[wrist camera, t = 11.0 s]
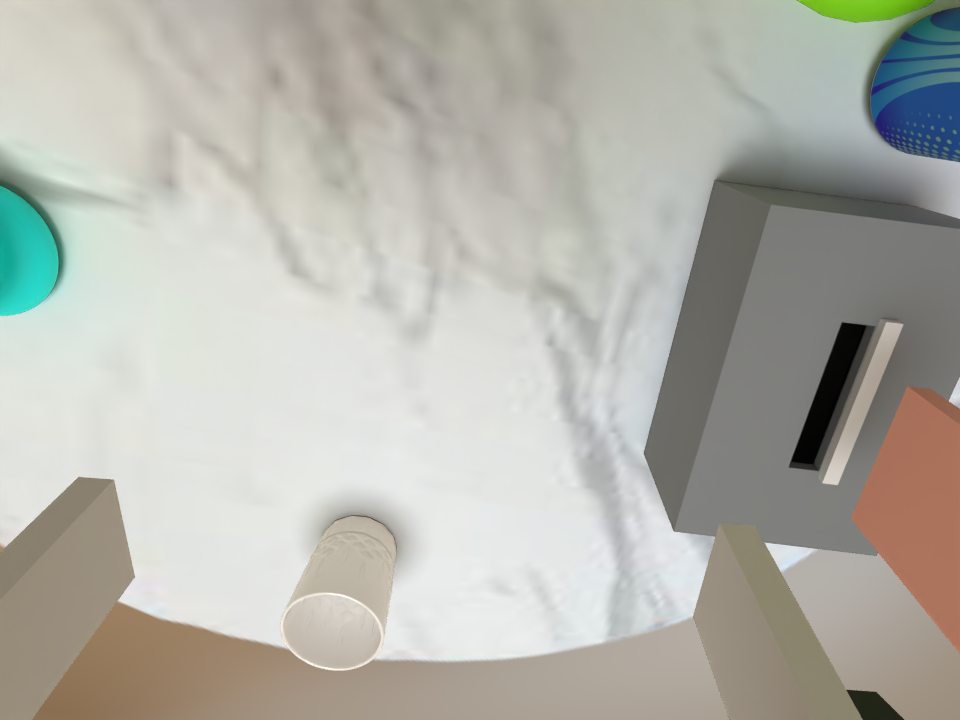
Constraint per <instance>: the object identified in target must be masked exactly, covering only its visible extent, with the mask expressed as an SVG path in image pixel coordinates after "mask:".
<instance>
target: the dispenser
mask: <svg viewBox="0 0 960 720" xmlns="http://www.w3.org/2000/svg"><path fill="white" fill-rule="evenodd" d="M959 377H960V219H958V218H954V217H951V216H947V215H944V214H940V213H937V212H933V211H930V210H926V209H922V208H919V207H915V206H908V205H901V204H893V203H885V202H877V201H869V200H862V199H854V198H846V197H838V196H831V195H823V194H815V193H807V192H799V191H792V190H784V189H776V188H768V187H760V186H753V185H745V184H737V183H729V182H722V181H714V185H713V188H712V192H711V196H710V200H709V204H708V208H707V212H706V216H705V219H704V223H703V227H702V231H701V235H700V239H699V243H698V246H697V250H696V254H695V258H694V262H693V266H692V270H691V273H690V277H689V281H688V285H687V289H686V293H685V297H684V301H683V304H682V308H681V312H680V316H679V320H678V324H677V328H676V331H675V335H674V339H673V343H672V347H671V351H670V355H669V359H668V362H667V366H666V370H665V374H664V378H663V382H662V386H661V389H660V393H659V397H658V401H657V405H656V409H655V413H654V416H653V420H652V424H651V428H650V432H649V436H648V440H647V444H646V447H645V451H644V455H645V458H646V460H647V463H648V466H649V468H650V471H651V473H652V476H653V479H654V481H655V484H656V486H657V489H658V492H659V494H660V497H661V499H662V502H663V505H664V507H665V510H666V512H667V515H668V518H669V520H670V523H671V525H672V528H673V531H674V532H682V533H691V534H699V535H707V536H716V533H717V530H718V526H719V523H726V524H740V525H754V526H755V527H756V529H757V531H758V532H759V534H760V536H761V538H762V540H763V541H764V542H765V543H774V544H782V545H790V546H799V547H807V548H815V549H824V550H832V551H840V552H849V553H857V554H865V555H873V556H877V554H878V552H877V550H876V549H875V548H874V547H873V545H872V544H871V543H870V542H869V540H868V539H867V538H866V537H865V535H864V534H863V533H862V532H861V531H860V529H859V528H858V527H857V526H856V524H855V523H854V522H853V521H852V519H851V516H852V514H853V512H854V509H855V507H856V505H857V502H858V500H859V498H860V495H861V493H862V491H863V488H864V486H865V484H866V481H867V479H868V477H869V474H870V472H871V470H872V467H873V465H874V463H875V461H876V458H877V456H878V454H879V451H880V449H881V447H882V444H883V442H884V440H885V437H886V435H887V433H888V430H889V428H890V426H891V423H892V421H893V419H894V416H895V414H896V412H897V409H898V407H899V405H900V402H901V400H902V398H903V395H904V393H905V391H906V389H907V386H909V387H917V388H925V389H932V390H933V391H934V392H936V393H937V394H939V395H940V396H942V397H943V398H944V399H946V400H947V401H949V399H950V396H951V394H952V392H953V390H954V388H955V386H956V384H957V381H958V379H959Z"/></svg>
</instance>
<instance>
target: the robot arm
mask: <svg viewBox="0 0 960 720" xmlns="http://www.w3.org/2000/svg"><path fill="white" fill-rule="evenodd" d="M134 577H135V575H134V570H133V566H132V561H131V557H130V552H129V547H128V543H127V538H126V534H125V529H124V524H123V520H122V515H121V510H120V506H119V501H118V497H117V492H116V487H115V483H114V480H111V479H97V478H83V477H78V478H77V479H76V480H75V481H74V482H73V483H72V484H71V485H70V486H69V487H68V488H67V489H66V490H65V491H64V492H63V493H62V494H61V495H60V496H58V497H57V498H56V499H55V500H54V501H53V502H52V503H51V504H50V505H49V506H48V507H47V508H46V509H45V510H44V511H43V512H42V513H41V514H40V515H39V516H38V517H37V518H36V519H35V520H34V521H33V522H31V523H30V524H29V525H28V526H27V527H26V528H25V529H24V530H23V531H22V532H21V533H20V534H19V535H18V536H17V537H16V538H15V539H14V540H13V541H12V542H11V543H10V544H9V545H8V546H7V547H6V548H5V549H3V551H1V552H0V720H32V718H33V717H34V715H35V714H36V713H37V711H38V710H39V709H40V707H41V706H42V705H43V703H44V702H45V700H46V699H47V698H48V696H49V695H50V694H51V692H52V691H53V689H54V688H55V687H56V685H57V684H58V682H59V681H60V680H61V678H62V677H63V676H64V674H65V673H66V671H67V670H68V669H69V667H70V666H71V664H72V663H73V662H74V660H75V659H76V658H77V656H78V655H79V653H80V652H81V651H82V649H83V648H84V646H85V645H86V644H87V642H88V641H89V640H90V638H91V637H92V635H93V634H94V633H95V631H96V630H97V628H98V627H99V626H100V624H101V623H102V622H103V620H104V619H105V617H106V616H107V615H108V613H109V612H110V610H111V609H112V608H113V606H114V605H115V604H116V602H117V601H118V599H119V598H120V597H121V595H122V594H123V593H124V591H125V590H126V588H127V587H128V586H129V584H130V583H131V581H132V580H133V579H134ZM693 618H694V621H695V624H696V627H697V629H698V632H699V635H700V638H701V641H702V644H703V646H704V649H705V652H706V655H707V658H708V660H709V664H710V666H711V669H712V672H713V675H714V678H715V680H716V684H717V686H718V689H719V692H720V695H721V698H722V701H723V704H724V706H725V709H726V712H727V715H728V718H729V720H904V719H903V718H902V717H901V716H900V715H899V714H898V713H897V712H896V711H895V710H894V709H893V708H892V707H891V706H890V705H889V704H888V703H887V702H886V701H885V700H884V699H883V698H882V697H881V696H880V695H879V694H877V692H869V691H855V690H846V689H845V687H844V685H843V683H842V682H841V680H840V678H839V676H838V674H837V673H836V671H835V669H834V667H833V665H832V664H831V662H830V660H829V658H828V656H827V655H826V653H825V651H824V649H823V647H822V646H821V644H820V642H819V640H818V639H817V637H816V635H815V633H814V631H813V629H812V628H811V626H810V624H809V622H808V620H807V619H806V617H805V615H804V613H803V611H802V610H801V608H800V606H799V604H798V603H797V601H796V599H795V597H794V595H793V594H792V592H791V590H790V588H789V586H788V585H787V583H786V581H785V579H784V577H783V576H782V574H781V572H780V570H779V568H778V567H777V565H776V563H775V561H774V559H773V558H772V556H771V554H770V552H769V550H768V549H767V547H766V545H765V543H764V541H763V540H762V538H761V536H760V534H759V532H758V531H757V529H756V527H755V526H754V525H740V524H726V523H719V526H718V530H717V533H716V537H715V540H714V544H713V547H712V551H711V555H710V558H709V562H708V565H707V569H706V572H705V576H704V580H703V583H702V587H701V590H700V594H699V598H698V601H697V605H696V608H695V612H694V615H693Z"/></svg>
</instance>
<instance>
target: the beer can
mask: <svg viewBox="0 0 960 720" xmlns="http://www.w3.org/2000/svg"><path fill="white" fill-rule="evenodd" d="M870 107H871V114H872V119H873V122H874V124H875V127H876V129H877V131H878V132H879V134H880V135H881V136H882V138H883V139H884V140H885V141H886V142H887V143H888V144H890V145H891V146H892V147H894V148H896V149H897V150H900V151H902V152H905V153H908V154H913V155H918V156H925V157H931V158H937V159H944V160H950V161H956V162H960V7H959V8H954V9H948V10H944V11H941V12H937V13H935V14H932V15H930V16H928V17H926V18H924V19H922V20H920V21H919V22H917V23H916V24H914V25H913V26H911V27H910V28H909V29H907V30H906V31H905V32H904V33H903V34H902V35H901V36H900V37H899V38H898V39H897V40H896V41H895V42H894V43H893V44H892V46H891V47H890V48H889V49H888V51H887V52H886V54H885V55H884V57H883V59H882V60H881V62H880V64H879V66H878V69H877V71H876V74H875V76H874V80H873V83H872V88H871V95H870Z"/></svg>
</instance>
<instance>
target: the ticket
mask: <svg viewBox="0 0 960 720" xmlns="http://www.w3.org/2000/svg"><path fill="white" fill-rule="evenodd" d="M851 519H852V521H853V522H854V523H855V524H856V526H857V527H858V528H859V529H860V531H861V532H862V533H863V534H864V535H865V537H866V538H867V539H868V540H869V542H870V543H871V544H872V545H873V547H874V548H875V549H876V550H877V552H878V553H879V554H880V555H881V556H882V558H883V559H884V560H885V561H886V563H887V564H888V565H889V566H890V567H891V569H892V570H893V571H894V573H895V574H896V575H897V576H898V577H899V578H900V580H901V581H902V582H903V584H904V585H905V586H906V587H907V589H908V590H909V591H910V592H911V593H912V595H913V596H914V597H915V598H916V599H917V601H918V602H919V603H920V605H921V606H922V607H923V608H924V609H925V611H926V612H927V613H928V614H929V616H930V617H931V618H932V619H933V620H934V622H935V623H936V624H937V626H938V627H939V628H940V629H941V631H942V632H943V633H944V634H945V636H946V637H947V638H948V639H949V640H950V642H951V643H952V644H953V645H954V647H955V648H956V649H957V650H958V652H959V653H960V409H959V408H957V407H956V406H954V405H953V404H952V403H950V402H949V401H947V400H946V399H944V398H943V397H942V396H940V395H939V394H937V393H936V392H934V391H933V390H932V389H925V388H917V387H909V386H907V389H906V391H905V393H904V395H903V398H902V400H901V402H900V405H899V407H898V409H897V412H896V414H895V416H894V419H893V421H892V423H891V426H890V428H889V430H888V433H887V435H886V437H885V440H884V442H883V444H882V447H881V449H880V451H879V454H878V456H877V458H876V461H875V463H874V465H873V467H872V470H871V472H870V474H869V477H868V479H867V481H866V484H865V486H864V488H863V491H862V493H861V495H860V498H859V500H858V502H857V505H856V507H855V509H854V512H853V514H852V516H851Z"/></svg>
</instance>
